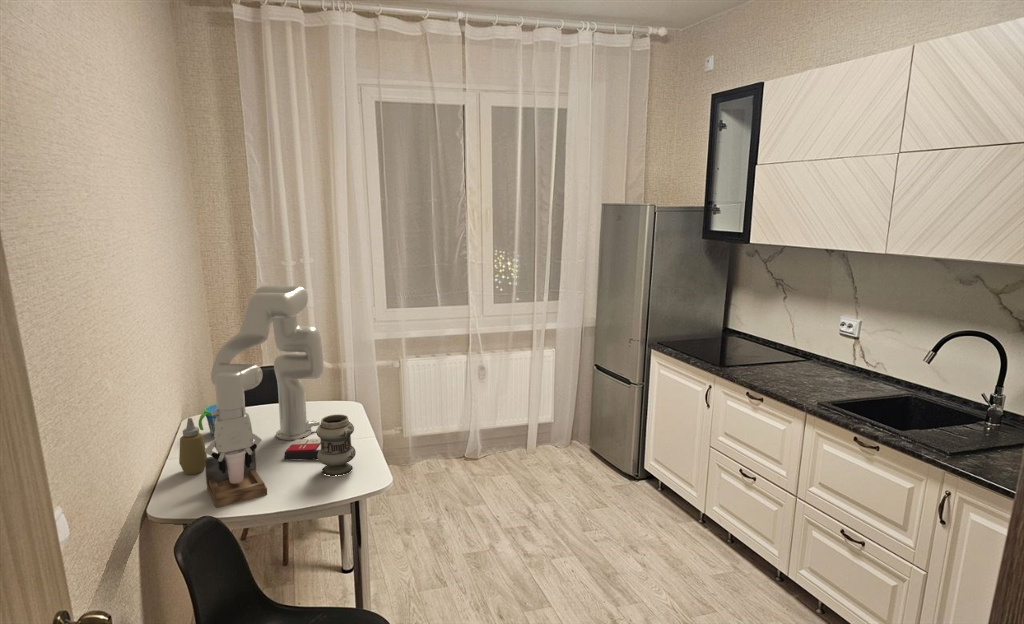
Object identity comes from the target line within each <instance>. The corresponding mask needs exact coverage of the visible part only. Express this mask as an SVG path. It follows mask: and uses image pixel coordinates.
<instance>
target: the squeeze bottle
mask: <svg viewBox="0 0 1024 624" xmlns="http://www.w3.org/2000/svg"><path fill="white" fill-rule="evenodd" d="M205 449H206V444H205V439H204V435H203V434H202V433H201V432H200V428H199V426H195V423H194V420H193V418H192V417H189V418H187V422H186V427H185V428H184V429H182V436H181V437H180V438H179V454H178V455H179V457H178V458H179V459H178V460H179V463H178V464H179V466H180V467H181V470H182V471H183V473H184V474H185V475H197V474H199V473H203V471H205V458H208V454H207V453H206V452H205Z"/></svg>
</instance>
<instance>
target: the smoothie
mask: <svg viewBox="0 0 1024 624" xmlns="http://www.w3.org/2000/svg"><path fill="white" fill-rule="evenodd" d="M245 453H246V449H241V450H236V451H232V452H227V453H225V455H224V457H225V462H226V466H227V471H228V476H229V480H230V483H239V482H242V481H243V477H244V463H245Z"/></svg>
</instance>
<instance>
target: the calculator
mask: <svg viewBox="0 0 1024 624" xmlns="http://www.w3.org/2000/svg"><path fill="white" fill-rule="evenodd" d="M320 450H321V439H320V438H319V437H317V438H310V439H309V438H300V439H295V440H293V442H292V443H291V444H290V446H289V447H288V448H287V449H286V450H285V451H284V460H285V459H311V460H316V459H318V458H317V455H318V452H319V451H320Z"/></svg>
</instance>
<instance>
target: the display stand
mask: <svg viewBox="0 0 1024 624" xmlns="http://www.w3.org/2000/svg"><path fill="white" fill-rule="evenodd" d="M223 459H224V461H225V457H224V458H223ZM251 460H252V463H250V468H247V466H246V465H245V463H244V477H243V481H242V482H239V483H230V480H229V476H228V471H227V466H226V462H225V470H226V473H224V474H223V473H222V471H221V470H219V465H218V460H217V459H215V458H213V457H212V456H209V457H208V456H207V458H205V469H204V471H205V482H206V490H207V492H208V493H209V496H210V499H211V500H212V502H213V505H214V506H215V508H221V507H224V506H228V505H231V504H235V503H236V504H237V503H239V502H243V501H246V500H250V499H254V498H258V497H262V496H266V495H268V488H267V486H266V484H265V482H264V480H263V479H262V477H261V476H260V475H259V474H258V472H257V462H256V461H257V460H256V449H255V450H254V451H253V452H252V454H251Z"/></svg>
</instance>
